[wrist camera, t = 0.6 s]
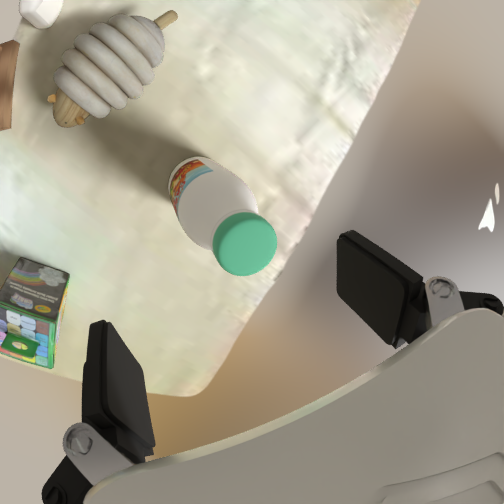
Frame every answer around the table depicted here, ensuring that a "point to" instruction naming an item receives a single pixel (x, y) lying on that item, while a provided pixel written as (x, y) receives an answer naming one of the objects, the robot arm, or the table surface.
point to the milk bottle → (221, 215)
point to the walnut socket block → (7, 81)
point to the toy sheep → (108, 67)
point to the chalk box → (32, 312)
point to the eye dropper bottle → (40, 11)
